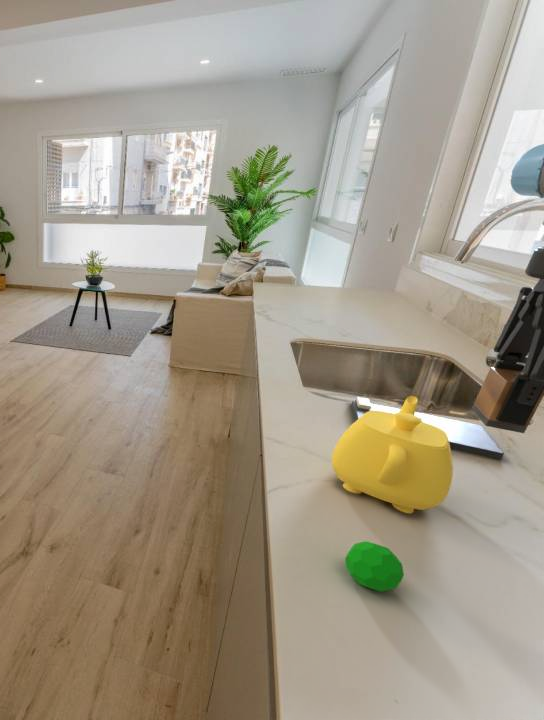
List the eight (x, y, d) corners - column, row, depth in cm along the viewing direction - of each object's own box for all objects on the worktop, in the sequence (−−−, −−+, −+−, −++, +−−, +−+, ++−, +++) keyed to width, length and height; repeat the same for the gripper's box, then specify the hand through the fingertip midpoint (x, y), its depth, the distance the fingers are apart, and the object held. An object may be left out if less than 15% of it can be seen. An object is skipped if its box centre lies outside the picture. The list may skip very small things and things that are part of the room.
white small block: (431, 422, 80) (433, 419, 79) (437, 432, 76) (439, 428, 76) (418, 420, 81) (419, 416, 80) (423, 429, 77) (424, 425, 77)
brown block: (506, 415, 63) (528, 372, 61) (524, 433, 59) (548, 387, 56) (471, 409, 65) (490, 367, 63) (485, 426, 60) (507, 381, 58)
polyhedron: (333, 560, 50) (345, 529, 49) (378, 567, 50) (393, 536, 48) (353, 596, 46) (367, 563, 44) (404, 605, 45) (420, 572, 43)
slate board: (477, 432, 80) (480, 425, 79) (500, 461, 71) (504, 453, 70) (350, 405, 89) (352, 399, 88) (356, 428, 80) (359, 421, 79)
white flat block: (367, 402, 87) (368, 398, 87) (370, 410, 84) (371, 406, 84) (355, 400, 88) (357, 396, 88) (358, 407, 85) (359, 404, 85)
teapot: (439, 476, 67) (472, 406, 62) (436, 547, 53) (478, 464, 48) (339, 443, 75) (361, 379, 70) (313, 498, 61) (339, 422, 56)
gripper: (508, 239, 62) (447, 383, 71) (579, 253, 47) (489, 434, 55) (582, 243, 59) (509, 393, 67) (685, 259, 43) (571, 451, 52)
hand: (500, 412), depth 61 cm, fingers closed on brown block, 6 cm apart
